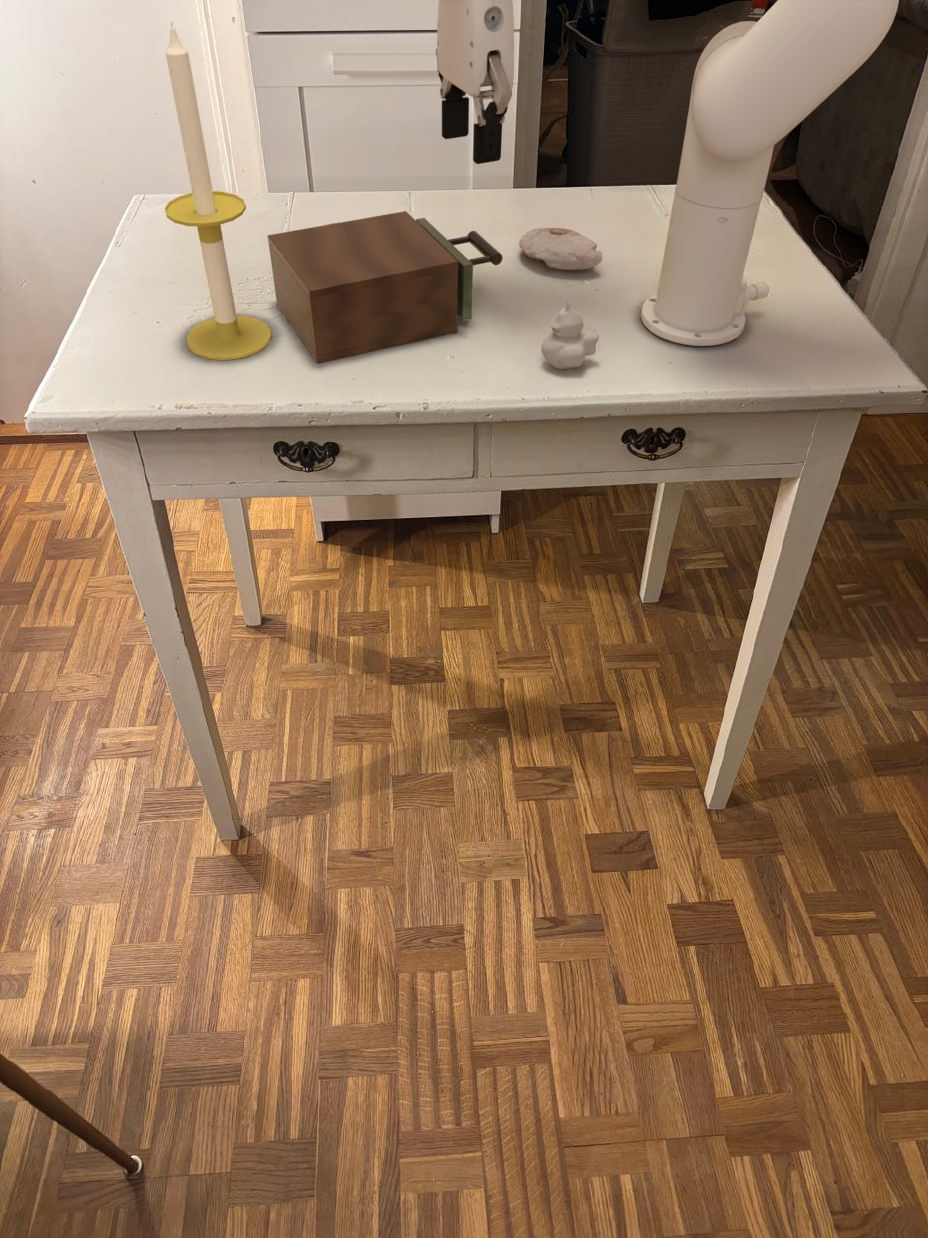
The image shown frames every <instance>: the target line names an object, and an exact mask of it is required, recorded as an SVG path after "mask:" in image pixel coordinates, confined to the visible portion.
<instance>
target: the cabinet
mask: <svg viewBox="0 0 928 1238" xmlns="http://www.w3.org/2000/svg"><path fill="white" fill-rule="evenodd" d="M334 223H335V224H331V223H328V224H329V225H328V224H324V225H318V226H312V227H308V228H301V229H297V230H290V231H284V232H278V233H274V234H268V235H267V242H268V248H269V249H268V250H269V256H270V263H271V271H272V278H273V286H274V292H275V293H274V294H275V300H276V305H277V307H278V309H279V310H280V311H281V313H282V315H283V316H284V317H285V319H286V320H287V322H288V323H289V325H290V326H291V327H292V329H293V330H294V332H295V333H296V335H297V336H298V338H299V339H300V340H301V342H302V343H303V345H304V347H305V348H306V350H307V351H308V352H309V353H310V355H311V356H312V358H313V360H314V361H315V362H316V364H321V363H325V362H329V361H335V360H338V359H343V358H348V357H353V356H357V355H361V354H366V353H370V352H374V351H380V350H383V349H388V348H393V347H396V346H397V347H398V346H401V345H406V344H410V343H415V342H420V341H424V340H429V339H432V338H433V339H434V338H438V337H441V336H448V335H450V334H455V333H458V315H457V306H458V261H457V260H456V259H455V258H454V257H453V256H452V255H451V254H450V253H449V252H448V251H447V250H446V249H445V248H444V247H442V246H441V245H440V244H439V243H438V242H437V241H436V240H435V239H434V238H433V237H432V236H431V235H430V234H429V233H428V232H427V231H426V230H425V229H424V228H423V227H422V226H421V225H420V224H419V223H418V222H417V221H416V219H415V218H414V217H413V216H412V215H410V213H409V212H407V211H406V210H403V211H400V212H398V211H397V212H393V213H392V212H391V213H386V214H381V215H376V216H370V217H364V218H359V219H353V220H347V221H342V222H334Z"/></svg>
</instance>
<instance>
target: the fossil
mask: <svg viewBox="0 0 928 1238" xmlns="http://www.w3.org/2000/svg"><path fill="white" fill-rule="evenodd" d="M518 245H519V248H520V249H522V251H523V252H524V254H525V255H526V256H527V257H529V258H531V259H534V260H537V261H543V262H544V263H545V265H546V267H548V268H550V269H554V270H555V269H556V270H566V271H567V270H568V271H578V270H579V271H581V270H587V269H593V268H595V267H596V266H598V265H599V264H601V263H602V261H603V252H602V251H601V250H597V247H598V245H597V244H596V242H594V240H592V239H590V238H588V237H586V236H585V235H583V234H582V233H579V232H577V231H575V230H573V229H568V228H562V227H561V228H560V227H539V228H534V229H531V230H528V231H527V232H526V233H525V234H523V235H521V237H520V238H519V242H518Z"/></svg>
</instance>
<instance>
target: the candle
mask: <svg viewBox="0 0 928 1238" xmlns="http://www.w3.org/2000/svg"><path fill="white" fill-rule="evenodd" d="M170 26H171V27H170V28H169V43H168V47H167V49H166V50H165V57H166V63H167V67H168V74H169V78H170V83H171V89H172V94H173V100H174V104H175V109H176V115H177V120H178V124H179V131H180V135H181V141H182V146H183V152H184V156H185V162H186V166H187V172H188V176H189V183H190V187H191V193H187V194H184V195H180V196H177V197H176V198H174V199H172V200H170V201H169V202H168V203H167V204H166V206H165V207H164V213H165V216H166V217H167V219H168V220H170V221H171V222H173V223H174V224H178V225H182V226H186V227H196V228H197V233H198V237H199V243H200V249H201V253H202V259H203V264H204V269H205V275H206V279H207V285H208V290H209V296H210V301H211V305H212V311H213V316H214V317H213V318H210V319H208V320H204V321H202V322H200V323H199V324H197V325H195V326H194V327H192V328H191V329H190V331H189V333H188V334H187V336H186V339H185V340H186V345H187V348H188V349H189V350H190V351H191V352H192V353H193V354H195V355H196V356H198V357H202V358H205V359H208V360H218V361H230V360H237V359H238V360H239V359H243V358H247V357H249V356H252V355H255V354H257V353H259V352H261V351H262V350H263V349H264V348H266V347H267V346H269V344H270V343H271V341H272V337H273V334H272V331H271V328H270V326H269V325H268V324H267V323H265V322H264V321H262V320H261V319H258V318H254V317H252V316H247V315H237V311H236V305H235V301H234V300H235V299H234V294H233V288H232V283H231V277H230V272H229V267H228V260H227V254H226V249H225V244H224V238H223V232H222V225H224V224H226V223H227V224H228V223H230V222H233V221H235V220H237V219H238V218H240V217H241V216H243V214H244V212H245V211H246V208H247V206H246V203H245V201H244V199H243V198H242V197H240V196H238V195H237V194H235V193H230V192H226V191H217V190H213V185H212V178H211V174H210V173H211V172H210V167H209V162H208V156H207V151H206V145H205V140H204V139H205V138H204V133H203V129H202V123H201V118H200V117H201V116H200V111H199V106H198V100H197V95H196V89H195V83H194V77H193V72H192V66H191V60H190V54H189V50H188V49H187V48H186V47H185V46H184V45H183V44H182V42H181V40H180V38H179V36H178V34H177V33H178V32H177V30H176V28H175V27H174V26H173V20H170Z"/></svg>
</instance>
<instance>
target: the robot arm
mask: <svg viewBox="0 0 928 1238" xmlns="http://www.w3.org/2000/svg"><path fill="white" fill-rule="evenodd" d="M899 2H900V0H776V1H775V2H774V4H773V5H772V6H771V7H770V8H769V9H768V10H767V11H766V12H765V14H764V15H763V16H762V17H761V18H760V19H759V20H758V21H755V20H745V21H739V22H735V23H733V24H730V25H728V26H727V27H725V28H722V30H720V31H719V32H718V33H717V34H715V35H714V36H713V37H712V38H711V39H710V40H709V42H708V43H707V45H706V46H705V47H704V49H703V51H702V52H701V54H700V57H699V58H698V61H697V63H696V66H695V70H694V73H693V78H692V79H693V80H692V84H691V91H690V99H689V107H688V113H687V119H686V125H685V133H684V138H683V145H682V150H681V155H680V162H679V167H678V172H677V173H678V174H677V179H676V185H675V188H674V195H673V200H672V206H671V212H670V218H669V223H668V228H667V234H666V239H665V240H666V241H665V245H664V246H665V247H664V252H663V259H662V263H661V269H660V276H659V281H658V285H657V286H658V287H657V293H655V294H653V295H651V296H650V297H648V298H647V299H646V300H645V301H644V302H643V304H642V306H641V311H640V319H641V322H642V324H643V325H644V326H645V328H646V329H647V330H649V331H650V332H651V333H652V334H654V335H655V336H657V337H659V338H662V339H663V340H666V341H669V342H672V343H675V344H680V345H684V346H685V345H686V346H692V347H712V346H718V345H722V344H726V343H730V342H731V341H733V340H735V339H736V338H738V337H739V336H740V335H741V334H743V331H744V328H745V325H746V315H745V313H744V311H743V310H742V309H743V306H746V305H747V304H748V303H749V302H750V301H757V300H761V299H765V298H767V297H768V296H769V293H770V288H769V285H768V283H767V282H765V281H760V282H756V283H751V284H750V285H748V280H747V279H746V277H744V273H745V268H746V264H747V261H748V256H749V253H750V248H751V243H752V239H753V236H754V232H755V227H756V223H757V218H758V216H759V211H760V207H761V202H762V199H763V196H764V191H765V187H766V184H767V179H768V176H769V171H770V166H771V163H772V158H773V152H774V149H775V145H776V144H778V143H779V142H780V141H781V140H782V139H783V138H785V137H786V136H787V135H788V134H789V133H790V132H792V131H793V130H794V128H796V127H797V126H798V125H799V124H800V123H801V122H803V121H804V120H805V119H806V118H807V117H808V116H809V115H810V114H811V113H812V112H814V110H816V109H817V108H818V107H819V106H820V104H822V103H823V102H825V100H826V99H827V98H828V97H830V96H831V94H833V93H834V92H835V91H836V90H837V89H838V88H839V87H841V85H843V84H844V83H845V82H846V81H847V80H848V79H849V78H850V77H851V76H852V75H853V74H854V73H855V72H856V71H857V70H858V69H860V67H862V65H864V63H865V62H866V61H867V60H868V59H869V58H870V57H871V56H872V54H873V53H874V52H875V51H876V49H878V47H879V46H880V44H881V43H882V42H883V40H884V39H885V37H886V35H887V34H888V32H889V30H890V29H891V27H892V24H893V23H894V20H895V17H896V14H897V11H898V7H899ZM437 7H438V8H437V31H436V32H437V33H436V34H437V35H436V36H437V37H436V49H435V56H436V60H437V67H438V77H439V80H440V84H441V85H440V89H439V95H440V98H441V137H442V138H443V139H445V140H450V139H451V140H452V139H456V138H464V137H468V135H469V127H470V126H469V123H470V98H469V97H472V101H473V105H474V111H475V116H476V121H477V122H476V123H473V137H472V139H473V140H472V141H473V143H472V145H473V147H472V161H473V163H474V164H476V165H481V164H488V163H494V162H498V161H500V160H501V158H502V140H503V139H502V137H503V124H504V123H505V120H506V116H505V115H506V113H507V112H508V109H509V104H510V102H511V100H512V97H513V88H514V80H515V79H514V78H515V77H514V76H515V22H514V21H515V19H514V18H515V17H514V5H513V0H438V6H437ZM483 87H484V88H485V87H490V88H491V89H488V90H481V88H483ZM467 95H469V97H468V96H467ZM484 100H492V101H490V102H489V103H488V104H487V106H486V107H485V103H484Z"/></svg>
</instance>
